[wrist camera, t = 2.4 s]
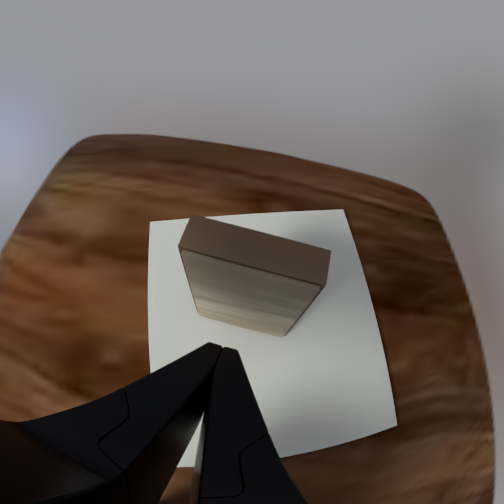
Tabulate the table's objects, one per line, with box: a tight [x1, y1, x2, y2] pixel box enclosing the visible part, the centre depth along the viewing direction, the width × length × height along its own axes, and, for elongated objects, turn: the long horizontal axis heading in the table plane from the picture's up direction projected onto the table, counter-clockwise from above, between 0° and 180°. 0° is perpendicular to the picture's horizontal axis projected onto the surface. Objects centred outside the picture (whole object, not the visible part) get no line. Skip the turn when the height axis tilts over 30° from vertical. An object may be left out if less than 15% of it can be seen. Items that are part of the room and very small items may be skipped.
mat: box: [148, 209, 397, 467], centre depth 20 cm, size 18×16×1 cm
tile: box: [178, 214, 331, 338], centre depth 16 cm, size 2×6×9 cm, turn 76°
